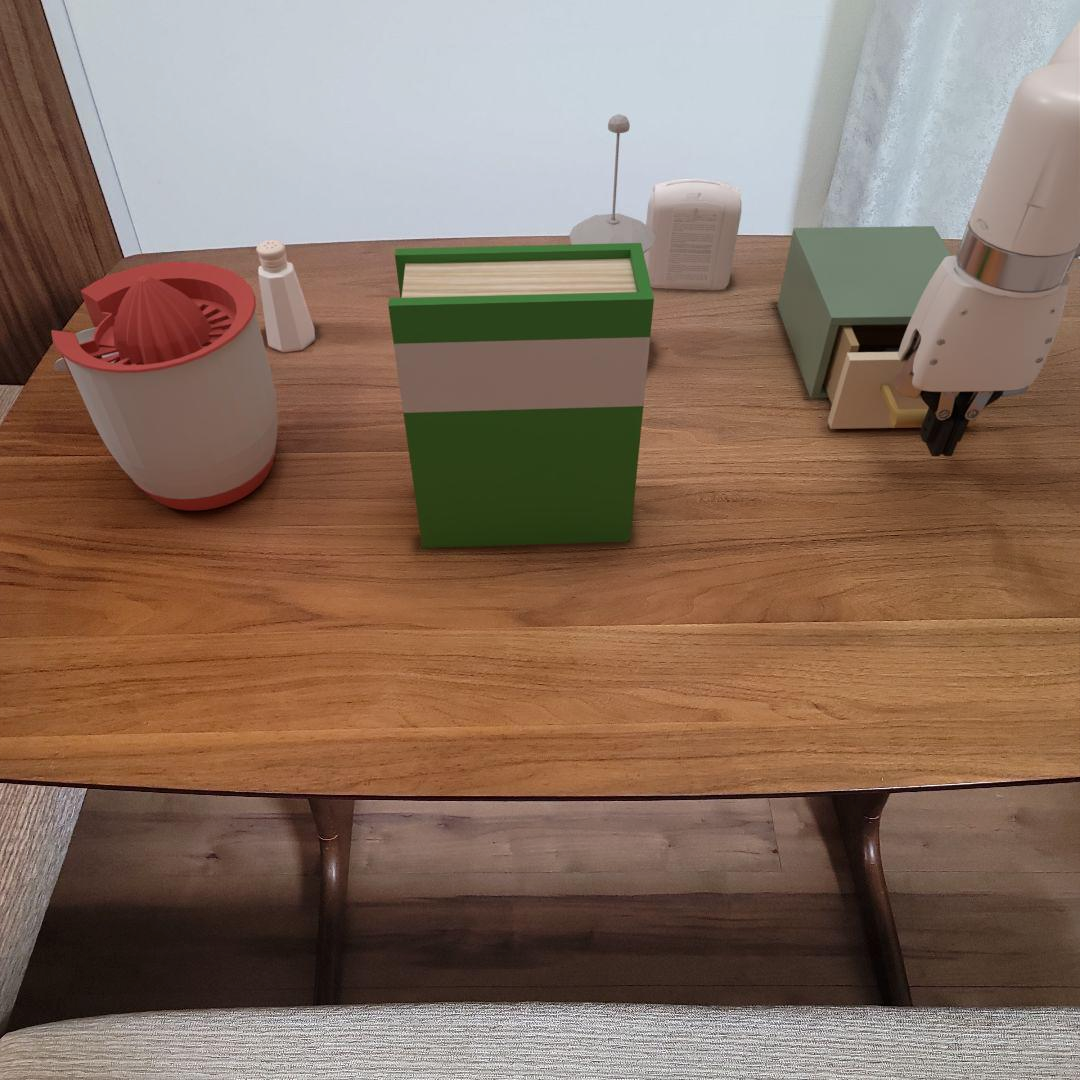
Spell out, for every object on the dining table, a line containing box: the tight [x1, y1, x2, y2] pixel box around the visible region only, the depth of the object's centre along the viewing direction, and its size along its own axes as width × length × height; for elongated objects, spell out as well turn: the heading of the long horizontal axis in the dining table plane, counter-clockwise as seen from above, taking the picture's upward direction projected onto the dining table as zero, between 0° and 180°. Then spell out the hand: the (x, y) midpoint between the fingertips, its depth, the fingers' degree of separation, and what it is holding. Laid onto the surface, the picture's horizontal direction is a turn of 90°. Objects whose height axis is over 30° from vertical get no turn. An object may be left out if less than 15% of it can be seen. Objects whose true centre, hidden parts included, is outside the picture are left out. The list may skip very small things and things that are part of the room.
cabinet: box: [776, 225, 953, 399], centre depth 95 cm, size 17×15×10 cm
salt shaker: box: [255, 239, 316, 353], centre depth 96 cm, size 5×5×11 cm
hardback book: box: [387, 243, 655, 549], centre depth 73 cm, size 18×7×24 cm, turn 92°
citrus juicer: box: [51, 261, 279, 512], centre depth 79 cm, size 16×17×20 cm
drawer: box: [823, 324, 977, 430], centre depth 89 cm, size 21×14×8 cm, turn 1°
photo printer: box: [644, 177, 742, 291], centre depth 103 cm, size 10×4×12 cm, turn 86°
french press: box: [568, 113, 655, 253], centre depth 88 cm, size 10×12×25 cm
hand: (936, 445), depth 81 cm, fingers closed
